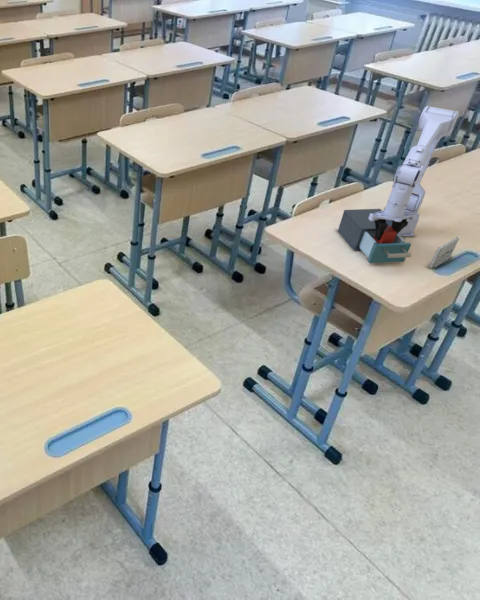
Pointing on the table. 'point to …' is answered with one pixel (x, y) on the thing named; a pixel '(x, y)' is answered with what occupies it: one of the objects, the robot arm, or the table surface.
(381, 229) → the robot arm
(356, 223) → the grey drawer cabinet
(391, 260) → the teal drawer
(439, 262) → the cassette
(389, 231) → the red block
